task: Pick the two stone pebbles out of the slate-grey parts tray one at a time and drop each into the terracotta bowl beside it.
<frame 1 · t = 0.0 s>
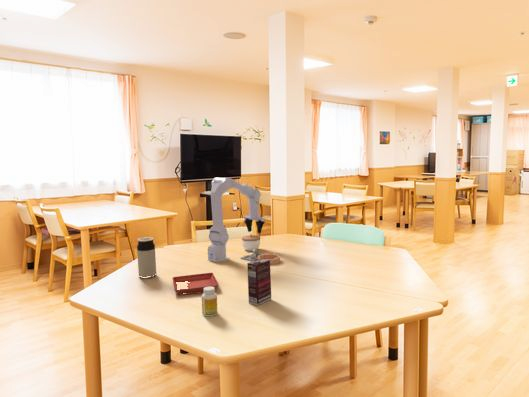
hand: (254, 232, 235), 10 cm above the table, tool pointing down, fingers open, 7 cm apart
supplement box: (259, 301, 155), on the table
travel mug: (147, 276, 190), on the table
pebble dark: (255, 256, 219), resting on tray
tray: (254, 258, 216), on the table
pebble grey: (252, 259, 213), resting on tray
lidded jar: (251, 250, 234), on the table
plant saucer: (195, 288, 173), on the table
bowl: (268, 262, 208), on the table
supplement bottle: (210, 314, 144), on the table
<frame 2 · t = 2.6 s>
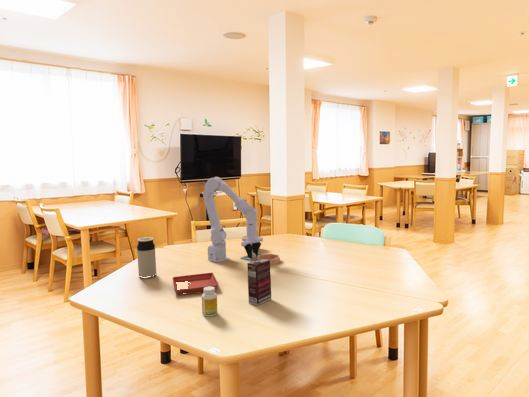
hand: (252, 257, 213), 2 cm above the table, tool pointing down, fingers closed on pebble grey, 4 cm apart
pebble grey: (252, 259, 213), resting on tray, touching gripper
everything else where it was.
when the fingers open (5 cm above the table, at t = 5.0 s): pebble grey drops 3 cm, resting on bowl.
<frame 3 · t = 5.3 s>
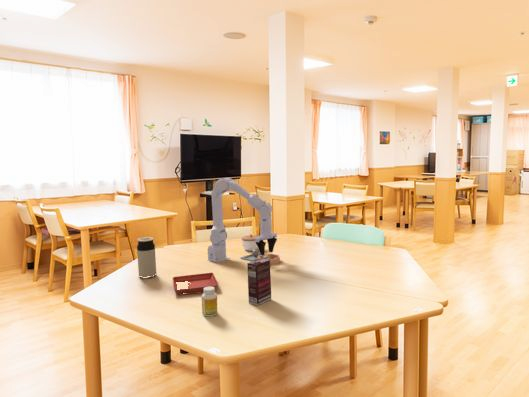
hand: (266, 253, 207), 5 cm above the table, tool pointing down, fingers open, 6 cm apart
pebble grey: (266, 261, 208), resting on bowl, tilted 10°
everything else where it was.
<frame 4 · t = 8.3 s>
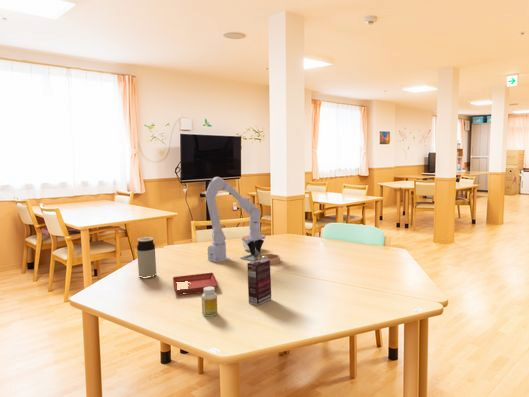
hand: (255, 254, 219), 2 cm above the table, tool pointing down, fingers closed on pebble dark, 4 cm apart
pebble dark: (255, 256, 219), resting on tray, touching gripper
pebble grey: (266, 260, 208), point 1 cm above the table, tilted 52°, touching bowl
everything else where it was.
when the fingers open (5 cm above the table, at t = 10.7 s): pebble dark drops 4 cm, resting on bowl.
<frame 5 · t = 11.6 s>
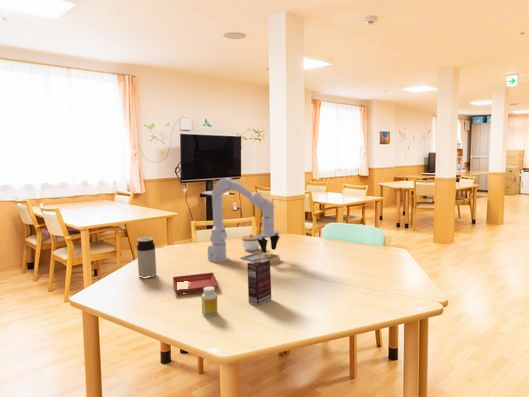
hand: (268, 250, 209), 6 cm above the table, tool pointing down, fingers open, 7 cm apart
pebble dark: (269, 261, 208), point 1 cm above the table, tilted 22°, touching bowl
pebble grey: (266, 259, 208), point 1 cm above the table, tilted 65°, touching bowl
everything else where it was.
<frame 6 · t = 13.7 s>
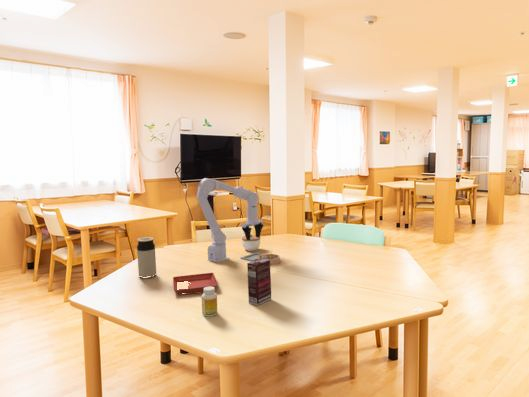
hand: (253, 238, 220), 10 cm above the table, tool pointing down, fingers open, 7 cm apart
pebble dark: (269, 259, 207), point 2 cm above the table, tilted 67°, touching bowl
pebble grey: (266, 260, 208), point 1 cm above the table, tilted 43°, touching bowl
everything else where it was.
at the end: pebble grey inside the target area on the bowl (1.2 cm from its centre), point 0.9 cm above the bowl's base; pebble dark inside the target area on the bowl (1.0 cm from its centre), point 1.5 cm above the bowl's base; the gripper is holding nothing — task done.
